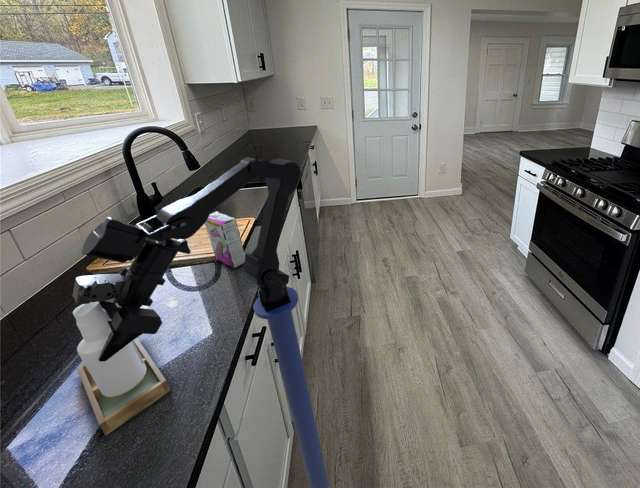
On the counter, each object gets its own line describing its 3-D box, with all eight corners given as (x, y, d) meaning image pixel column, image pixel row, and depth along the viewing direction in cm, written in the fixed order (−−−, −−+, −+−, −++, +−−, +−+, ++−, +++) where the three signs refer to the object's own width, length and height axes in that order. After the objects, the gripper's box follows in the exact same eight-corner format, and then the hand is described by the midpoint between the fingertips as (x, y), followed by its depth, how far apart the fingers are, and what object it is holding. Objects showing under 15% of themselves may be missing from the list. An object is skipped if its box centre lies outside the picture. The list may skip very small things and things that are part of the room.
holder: (139, 344, 74) (135, 335, 72) (171, 390, 62) (166, 380, 61) (82, 377, 66) (76, 367, 65) (105, 435, 55) (99, 425, 54)
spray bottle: (151, 359, 64) (118, 289, 58) (141, 388, 59) (102, 313, 52) (110, 373, 62) (70, 301, 55) (95, 404, 56) (48, 328, 49)
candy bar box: (214, 260, 106) (201, 216, 100) (229, 252, 110) (217, 210, 104) (233, 269, 100) (220, 224, 94) (248, 261, 104) (236, 217, 98)
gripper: (85, 241, 59) (28, 324, 55) (111, 276, 48) (43, 381, 44) (149, 256, 68) (104, 328, 64) (184, 289, 57) (132, 378, 53)
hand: (96, 350), depth 56 cm, fingers closed on spray bottle, 7 cm apart
